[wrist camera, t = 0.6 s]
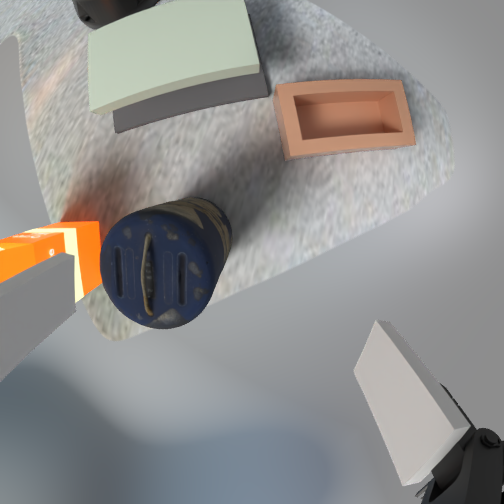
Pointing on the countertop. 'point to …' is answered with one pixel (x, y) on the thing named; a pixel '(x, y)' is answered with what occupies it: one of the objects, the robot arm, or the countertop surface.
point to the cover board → (168, 51)
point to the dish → (342, 117)
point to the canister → (165, 261)
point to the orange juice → (55, 251)
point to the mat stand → (192, 98)
